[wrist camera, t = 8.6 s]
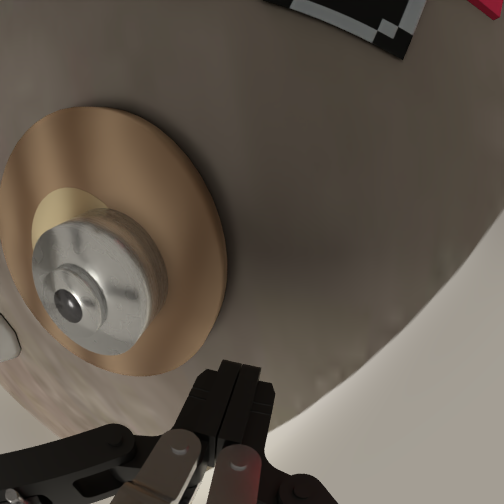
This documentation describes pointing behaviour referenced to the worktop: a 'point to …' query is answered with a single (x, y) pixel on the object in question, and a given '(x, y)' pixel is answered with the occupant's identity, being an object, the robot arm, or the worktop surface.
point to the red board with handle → (378, 18)
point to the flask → (7, 342)
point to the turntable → (130, 203)
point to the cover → (100, 279)
